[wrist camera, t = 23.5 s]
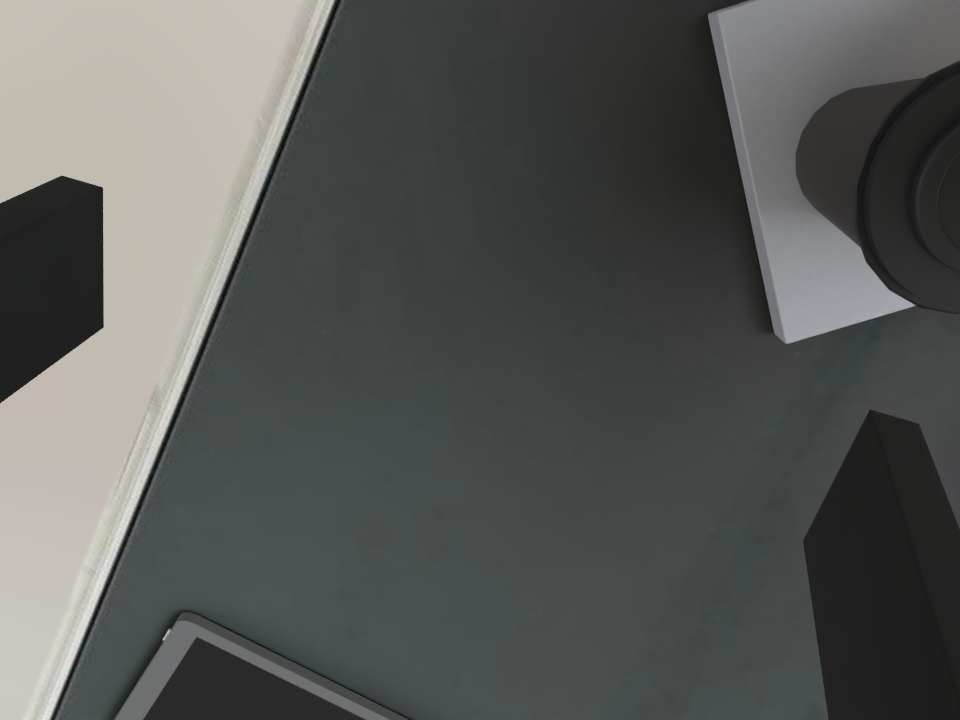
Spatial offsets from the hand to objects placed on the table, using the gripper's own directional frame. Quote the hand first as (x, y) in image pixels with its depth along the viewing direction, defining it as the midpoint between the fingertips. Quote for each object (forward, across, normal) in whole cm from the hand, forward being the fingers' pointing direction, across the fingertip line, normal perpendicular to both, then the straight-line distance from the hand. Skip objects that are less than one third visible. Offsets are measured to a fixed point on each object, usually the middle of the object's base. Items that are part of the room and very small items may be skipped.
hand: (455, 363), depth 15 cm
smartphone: (+16, -7, -34) cm, 38 cm away
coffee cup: (+26, +11, 0) cm, 28 cm away
